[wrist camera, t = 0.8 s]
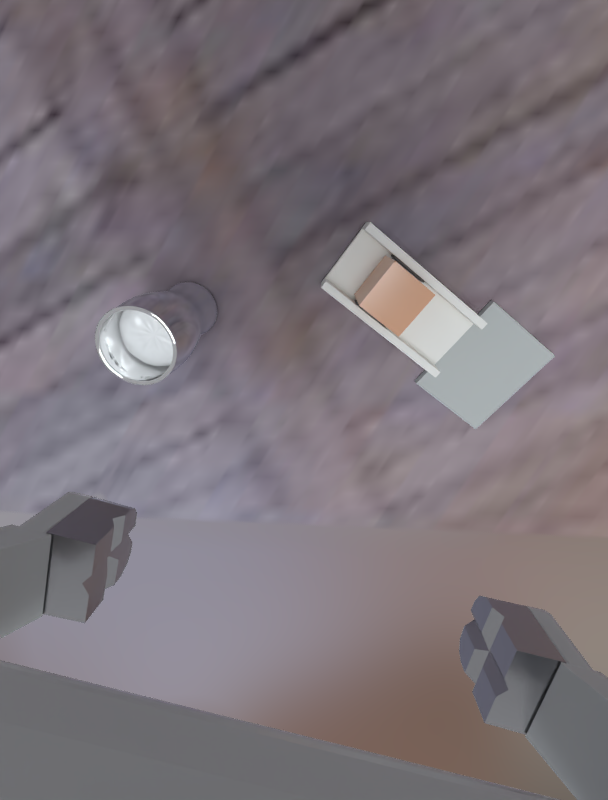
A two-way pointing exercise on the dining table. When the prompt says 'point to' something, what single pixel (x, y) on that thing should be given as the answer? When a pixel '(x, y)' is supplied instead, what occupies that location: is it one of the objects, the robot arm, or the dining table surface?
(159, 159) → the dining table surface
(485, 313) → the pad
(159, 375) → the beer glass
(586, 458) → the dining table surface
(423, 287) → the block
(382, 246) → the chute
